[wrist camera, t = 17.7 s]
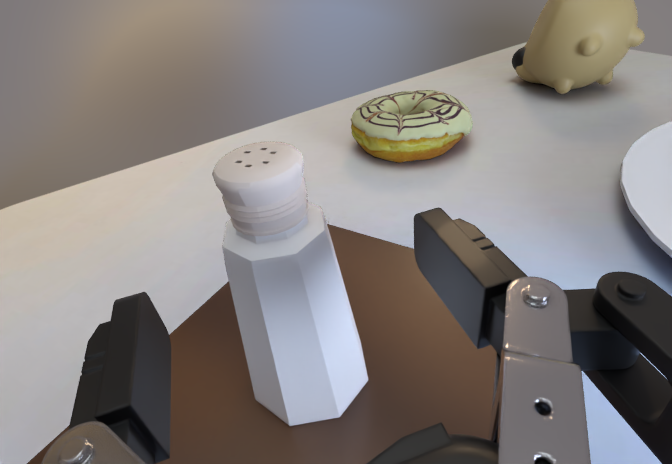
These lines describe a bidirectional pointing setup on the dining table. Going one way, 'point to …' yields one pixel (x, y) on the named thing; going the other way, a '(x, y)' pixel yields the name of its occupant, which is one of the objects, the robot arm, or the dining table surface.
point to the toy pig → (578, 43)
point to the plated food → (651, 184)
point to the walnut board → (370, 403)
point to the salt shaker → (287, 287)
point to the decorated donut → (410, 125)
